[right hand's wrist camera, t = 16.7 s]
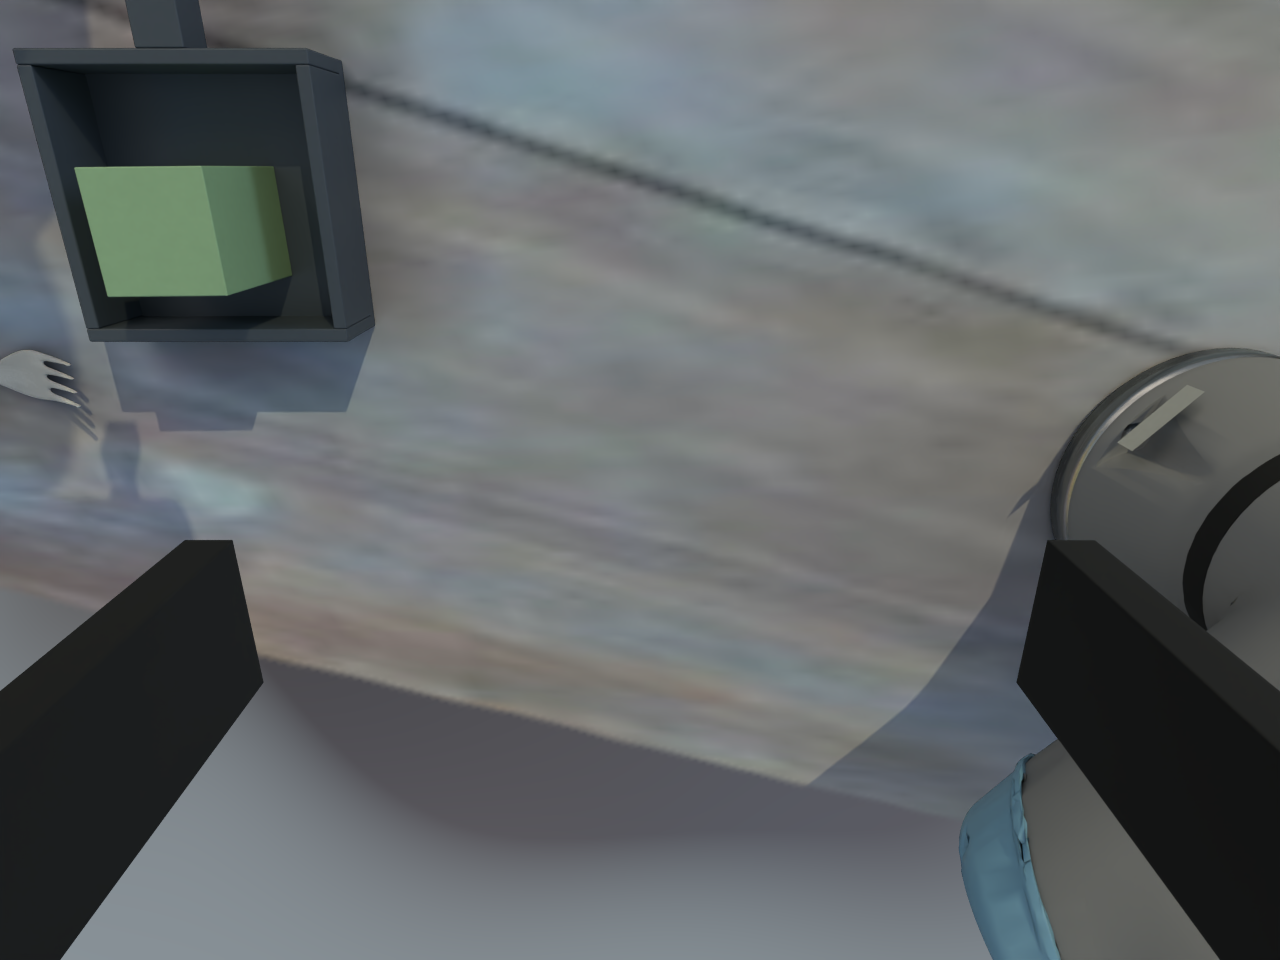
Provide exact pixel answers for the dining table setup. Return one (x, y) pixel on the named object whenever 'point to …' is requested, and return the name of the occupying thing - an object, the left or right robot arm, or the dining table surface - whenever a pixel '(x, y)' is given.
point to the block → (185, 229)
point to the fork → (33, 375)
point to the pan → (208, 136)
